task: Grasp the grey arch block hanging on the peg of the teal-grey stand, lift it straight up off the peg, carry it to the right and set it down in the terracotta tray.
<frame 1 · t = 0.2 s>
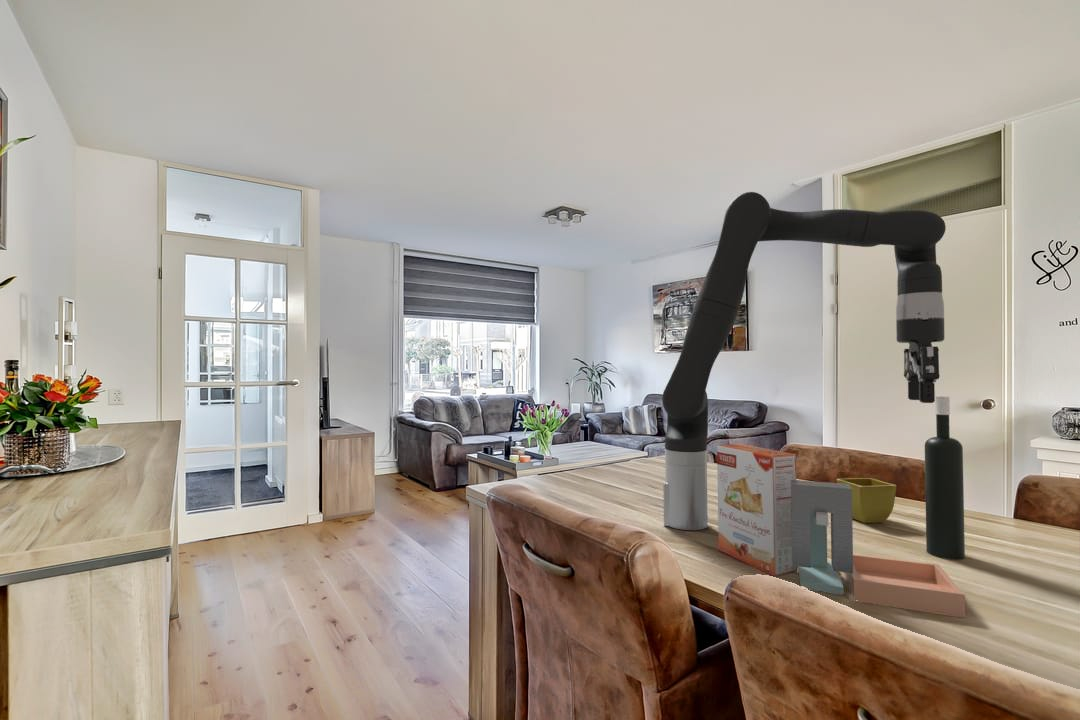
hand: (920, 401, 101), 29 cm above the table, tool pointing down, fingers open, 8 cm apart
wine bottle: (945, 555, 99), on the table
peg stand: (817, 570, 91), on the table
flower pot: (866, 521, 121), on the table
grey arch block: (821, 565, 83), point 4 cm above the table, touching peg stand
cracker box: (755, 562, 96), on the table
tray: (897, 592, 82), on the table
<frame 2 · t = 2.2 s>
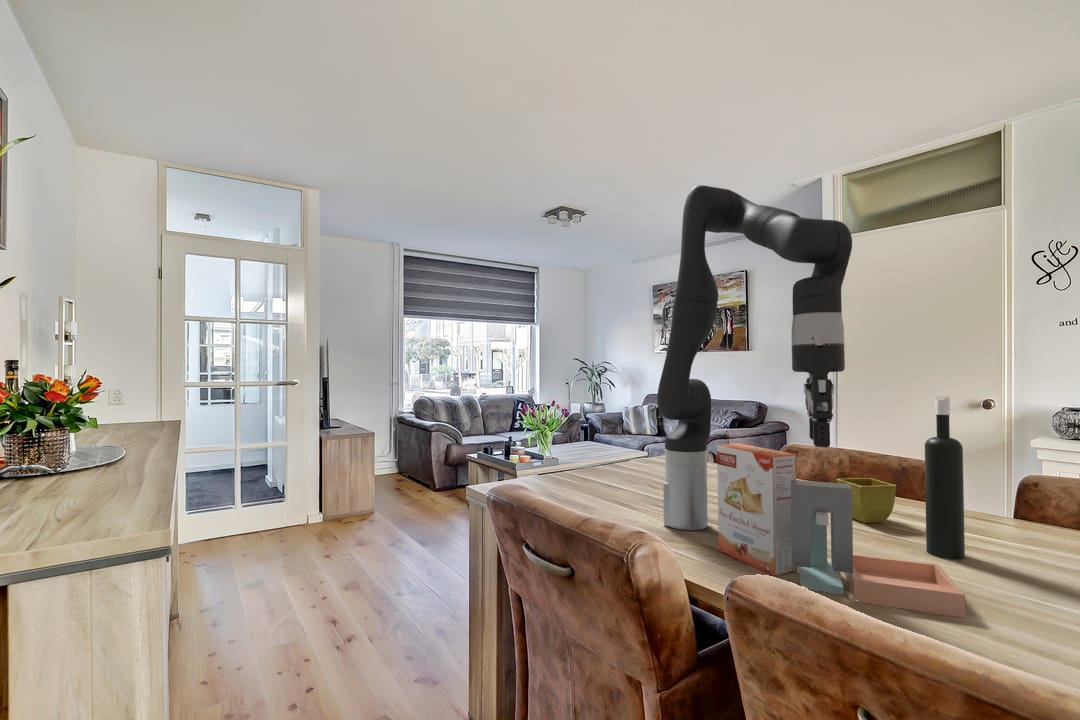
hand: (819, 443, 84), 24 cm above the table, tool pointing down, fingers open, 8 cm apart
nothing on the table moved.
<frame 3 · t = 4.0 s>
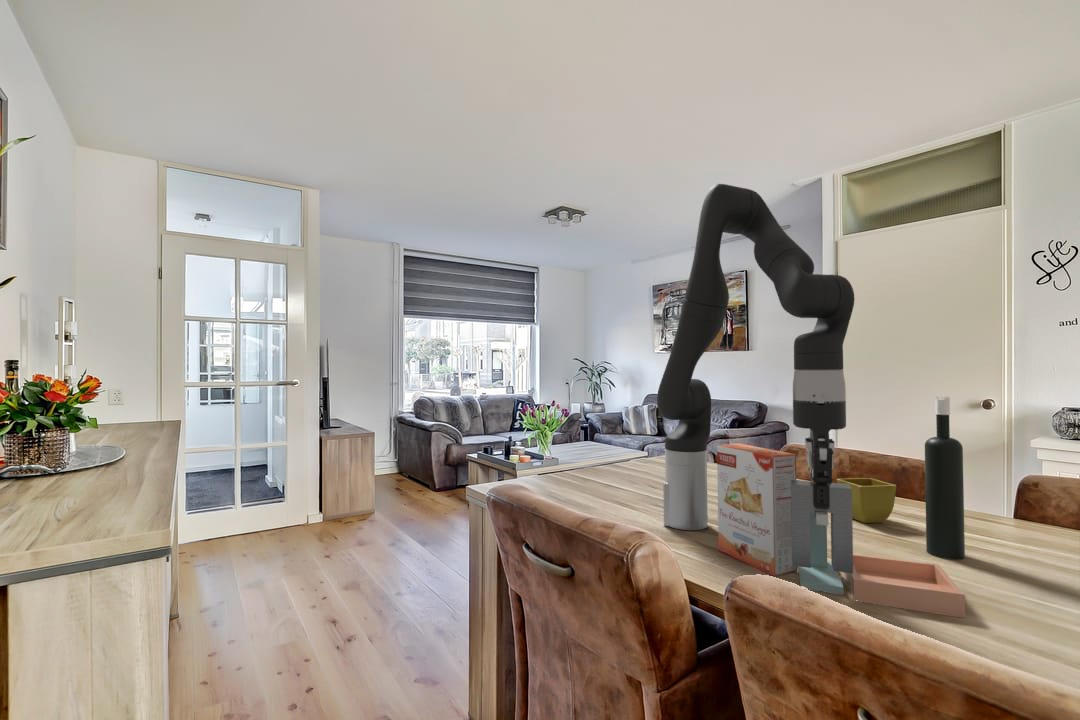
hand: (820, 504, 83), 14 cm above the table, tool pointing down, fingers closed on grey arch block, 3 cm apart
grey arch block: (821, 565, 83), point 4 cm above the table, touching gripper, peg stand
everything else where it was.
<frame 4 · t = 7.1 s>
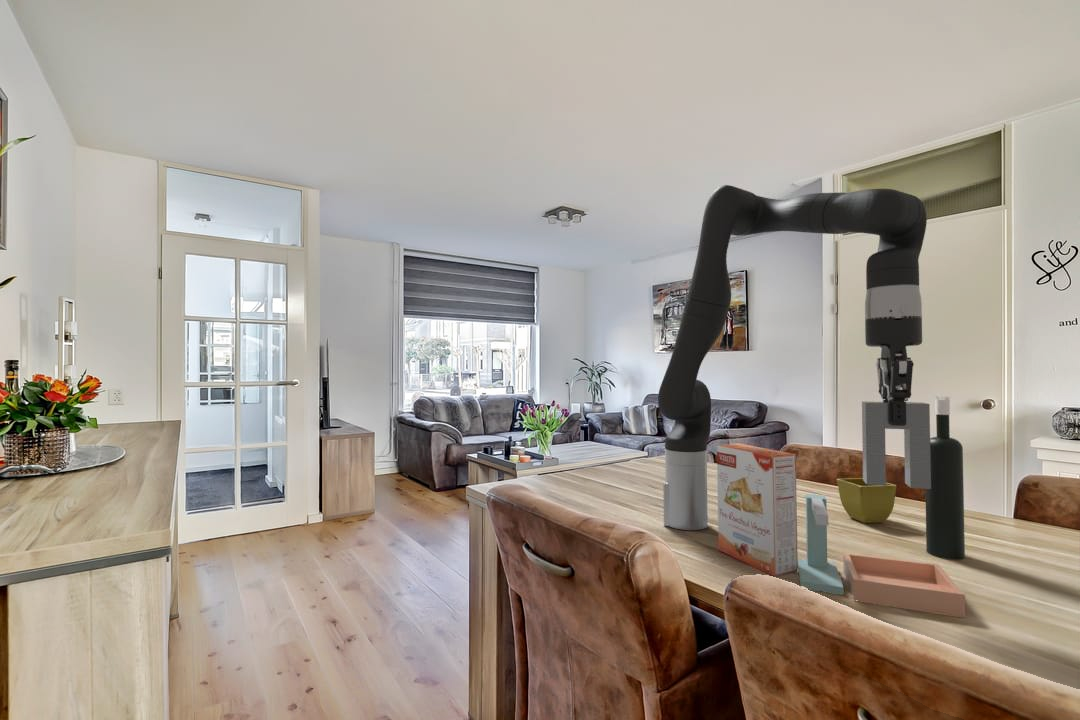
hand: (894, 423, 83), 27 cm above the table, tool pointing down, fingers closed on grey arch block, 3 cm apart
grey arch block: (895, 484, 83), point 17 cm above the table, touching gripper
everything else where it was.
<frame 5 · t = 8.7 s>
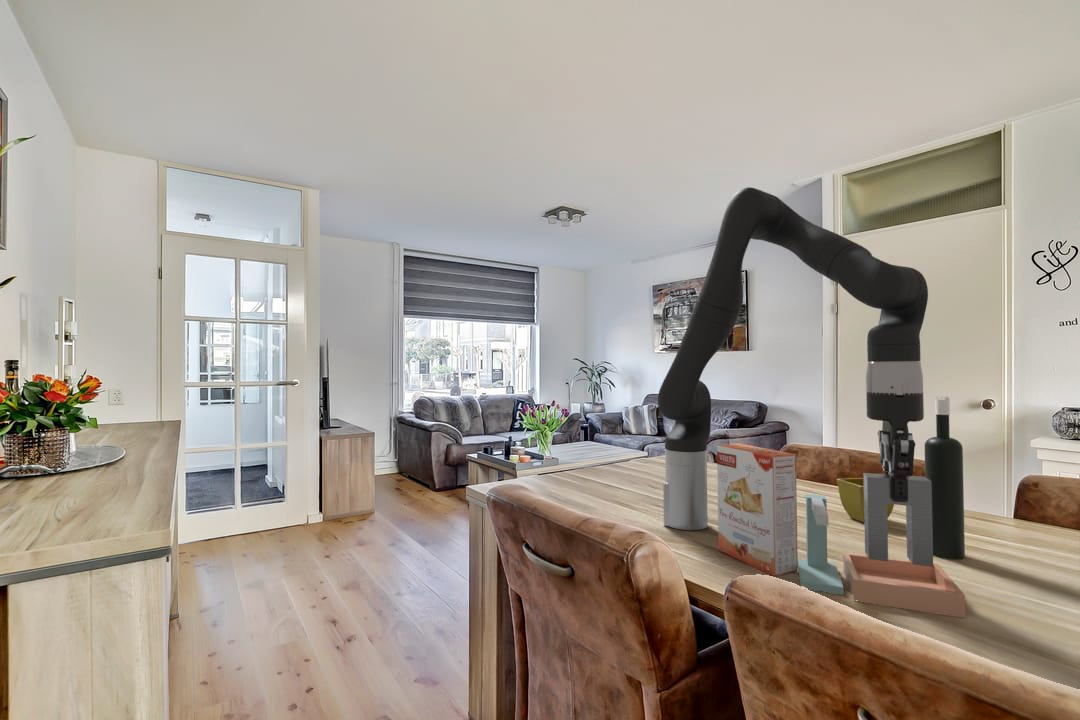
hand: (896, 497, 83), 15 cm above the table, tool pointing down, fingers closed on grey arch block, 3 cm apart
grey arch block: (897, 559, 82), point 5 cm above the table, touching gripper
everything else where it was.
when the fingers open (12 cm above the table, at t = 10.0 s): grey arch block drops 1 cm, resting on tray.
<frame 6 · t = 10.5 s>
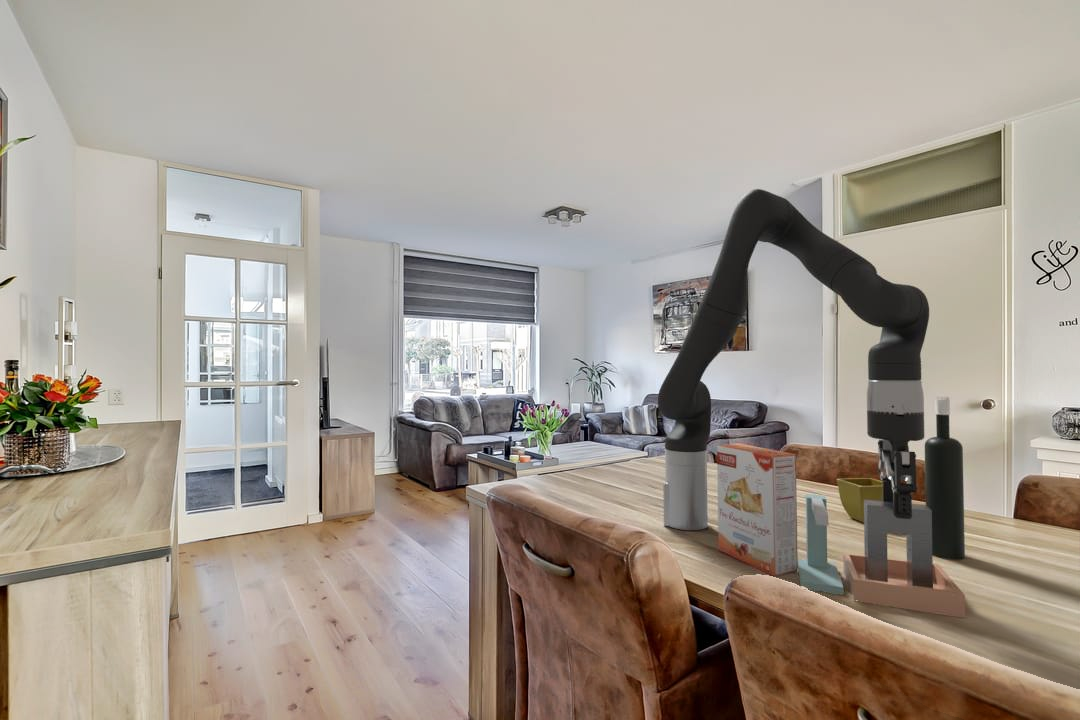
hand: (896, 510, 83), 13 cm above the table, tool pointing down, fingers open, 8 cm apart
grey arch block: (897, 587, 82), point 1 cm above the table, touching tray
everything else where it was.
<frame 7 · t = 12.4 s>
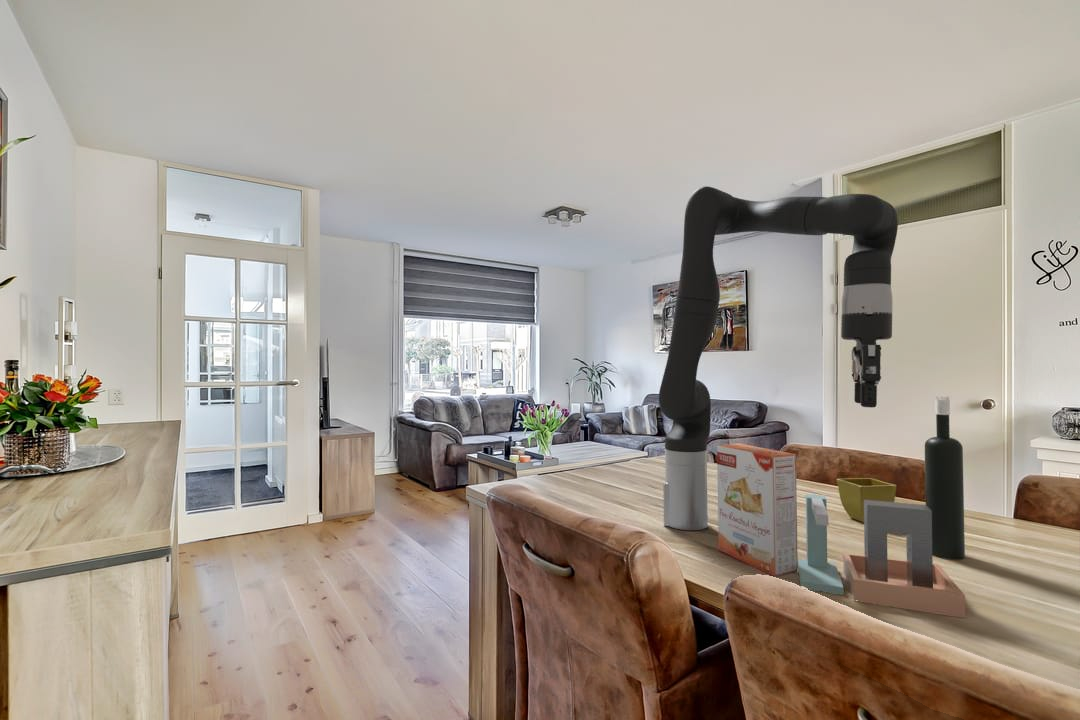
hand: (864, 405, 91), 29 cm above the table, tool pointing down, fingers open, 8 cm apart
nothing on the table moved.
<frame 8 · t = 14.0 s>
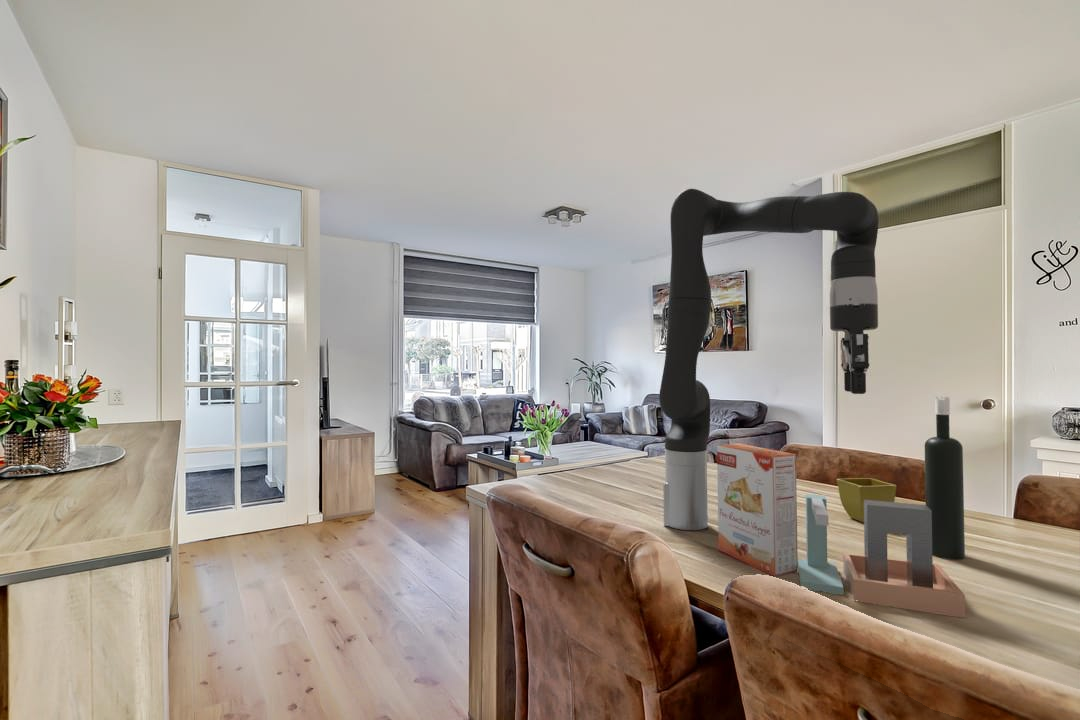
hand: (854, 392, 95), 31 cm above the table, tool pointing down, fingers open, 8 cm apart
nothing on the table moved.
at the end: grey arch block inside the target area on the tray (0.1 cm from its centre), point 0.8 cm above the tray's base; grey arch block touching tray; the gripper is holding nothing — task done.
